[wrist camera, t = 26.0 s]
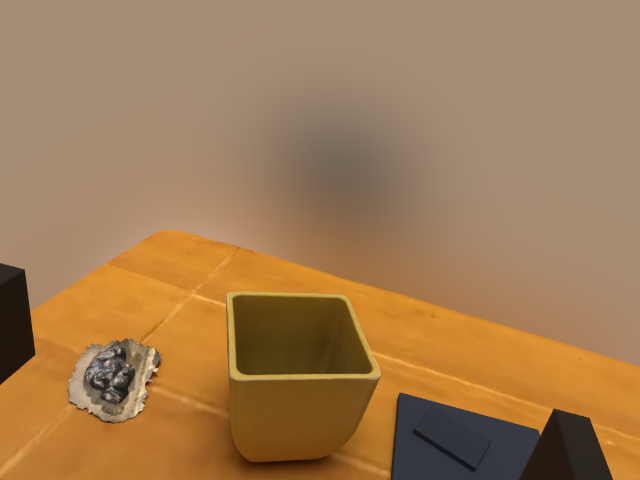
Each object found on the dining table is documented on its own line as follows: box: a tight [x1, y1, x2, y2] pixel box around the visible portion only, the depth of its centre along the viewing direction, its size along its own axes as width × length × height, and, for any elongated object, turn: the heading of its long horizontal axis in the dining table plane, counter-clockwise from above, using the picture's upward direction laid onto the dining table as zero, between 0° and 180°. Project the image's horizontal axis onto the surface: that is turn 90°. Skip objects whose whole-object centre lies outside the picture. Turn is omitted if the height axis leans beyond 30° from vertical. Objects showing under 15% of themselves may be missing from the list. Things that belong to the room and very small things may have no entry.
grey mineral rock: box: [68, 339, 162, 423], centre depth 36 cm, size 7×8×2 cm
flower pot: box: [226, 292, 381, 462], centre depth 33 cm, size 9×9×9 cm
